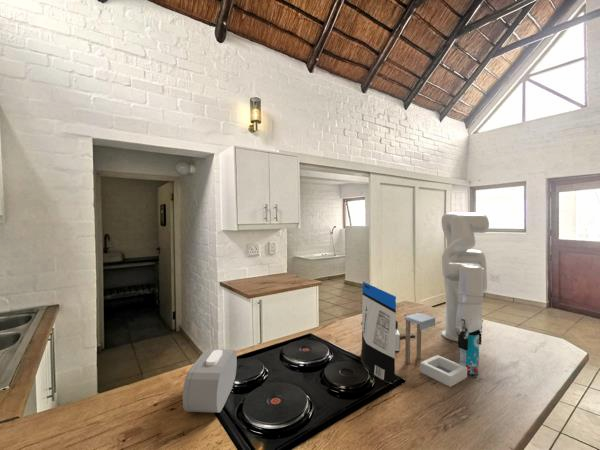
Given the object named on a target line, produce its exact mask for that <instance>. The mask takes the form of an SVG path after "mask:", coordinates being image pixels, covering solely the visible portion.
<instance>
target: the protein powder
mask: <svg viewBox="0 0 600 450" xmlns="http://www.w3.org/2000/svg"><path fill="white" fill-rule="evenodd" d="M361 299H362V303H361V304H362V306H361V307H362V308H361V309H362V311H361V312H362V314H361V316H362V317H361V319H362V320H361V322H362V323H361V324H362V327H361V328H362V329H361V333H362V334H361V353H360V358H361V359H360V362H361V363H362V364H361V363H360V364H361V366H362V365H363V366H364V367H366V368H367V369H368V370H369V372H370V374H369V375H371V376H372V375H373V376H372V377H374V378H376V379H377V378H378V379H377V380H379V379H380V380H379V381H381V380H383V381H387V382H391V383H393V384H394V386H395V387H396V379H395V378H396V376H395V375H396V371H395V368H396V367H395V366H396V364H395V363H396V351H395V331H396V321H397V318H396V317H397V316H396V314H397V301H396V300H397V296H396V295H393V294H391V293H389V292H387V291H385V290H383V289H379V288H378V287H375V286H373V285H371V284H369V283H367V282H365V281H362V298H361ZM363 366H362V367H363ZM364 367H363V368H364ZM383 381H382V382H383ZM394 386H393V387H394Z"/></svg>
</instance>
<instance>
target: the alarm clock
mask: <svg viewBox="0 0 600 450" xmlns="http://www.w3.org/2000/svg"><path fill="white" fill-rule="evenodd" d="M237 355H238V354H237V351H236V349H223V348H222V349H221V348H220V349H219V348H218V349H217V348H216V349H215V348H207V349H205V350H204V351H203V352H202V353H201V354H200V356H199V357H198V358H197V360H196V361H195V362H194V363H193V365H191V367H190V368H189V370H188V371H187V373H186V376H185V379H184V383H183V388H182V407H183V410H184V411H185V412H192V413H214V414H215V413H217V414H218V413H221V412H222V410H223V408H224V406H225V404H226V402H227V400H228V398H229V396H230V393H231V392H232V389H233V387H234V384H233V382H234V383H235V381H236V375H237V366H238V365H237V363H238V361H237V358H238V357H237ZM234 380H235V381H234Z"/></svg>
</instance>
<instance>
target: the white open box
mask: <svg viewBox="0 0 600 450" xmlns="http://www.w3.org/2000/svg"><path fill="white" fill-rule="evenodd" d="M404 320H405V329H406V338H405V354H404V355H405V357H404V360H405V362H404V363H406V364H407V365H408V364H410V363H411V338H410V333H411V322H412V323H413V324H416V353H415V354H416V359H419V360H420V359H422V330H426V329H428V328H432V327H435V326H436V317H435V316H431V315H429V314H425V313H421V312H416V313H413V314H410V315H409V314H408V315H405V316H404ZM419 369H420V372H419V373H421V374H423V375H426V376H427V377H430V378H432V379H434V380H435V381H438V382H439V383H441V384H444V386H445V385H446V386H447V387H449V388H451V387H452V386H454V385H456V384H458V383H460V382H462V381H464V380H465V379H466V378H468V374H467V367H465V366H463V365H460V363H457V362H455V361H453V360H450V359H448V358H445V357H443V356H441V355H438V354H436V355H434V356H432V357H430V358H427V359H425V360H422V361H421V362H420V368H419Z"/></svg>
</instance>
